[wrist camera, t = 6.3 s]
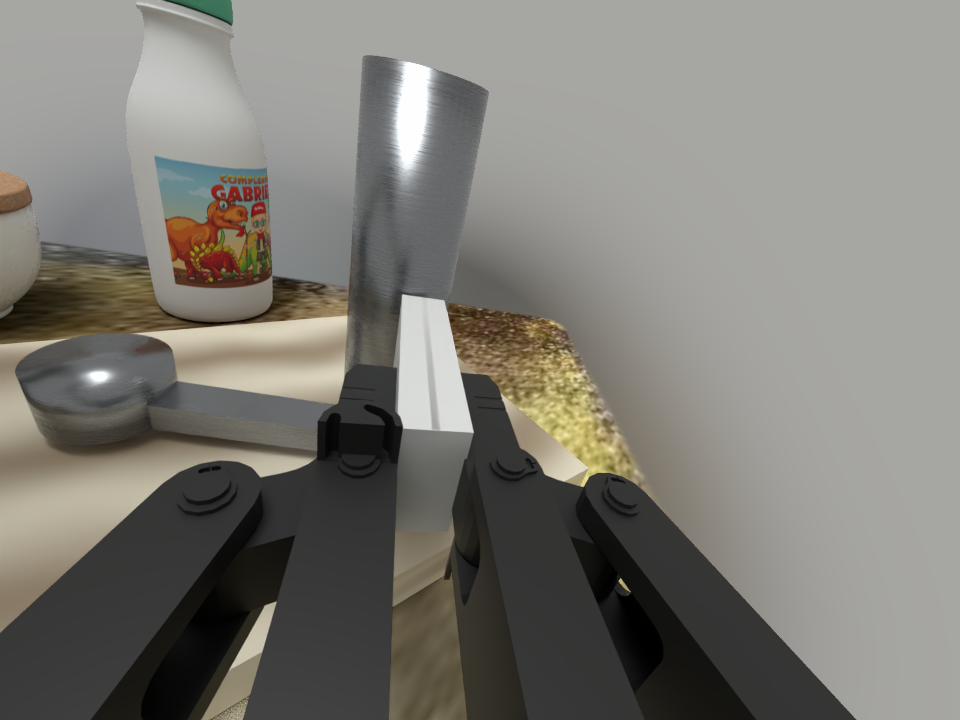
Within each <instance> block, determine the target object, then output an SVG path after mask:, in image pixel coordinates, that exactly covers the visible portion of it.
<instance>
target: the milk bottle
mask: <svg viewBox="0 0 960 720" xmlns="http://www.w3.org/2000/svg"><path fill="white" fill-rule="evenodd" d="M136 6H137V8H138V9H140V11H141V12H142V15H143V19H144V27H145V34H144V44H143V51H142V56H141V60H140V64H139V67H138V70H137V73H136V76H135V79H134V81H133V84H132V87H131V90H130V93H129V96H128V101H127V107H126V118H125V120H126V137H127V144H128V151H129V157H130V165H131V171H132V176H133V182H134V187H135V193H136V199H137V204H138V210H139V215H140V220H141V226H142V230H143V236H144V242H145V247H146V252H147V257H148V262H149V268H150V273H151V278H152V283H153V288H154V292H155V296H156V300H157V302H158V304H159V305H160V306H161V308H162V309H163V310H164V311H166V312H167V313H169V314H171V315H174V316H176V317H180V318H183V319H188V320H194V321H203V322H230V321H238V320H244V319H248V318H252V317H255V316H258V315H260V314H262V313H264V312H265V311H266V310H268V309H269V307H270V305H271V303H272V300H273V287H272V260H271V237H270V216H269V215H270V214H269V196H268V195H269V194H268V178H267V167H266V157H265V151H264V145H263V141H262V137H261V133H260V130H259V127H258V125H257V122H256V120H255V117H254V115H253V113H252V111H251V108H250V106H249V104H248V102H247V100H246V97H245V95H244V93H243V90H242V88H241V85H240V83H239V80H238V77H237V74H236V71H235V67H234V64H233V60H232V56H231V51H230V39H231V38H233V37H234V35H233V33H232V27H231V26H232V23H233V16H232V15H233V12H232V3H231V0H137V4H136Z"/></svg>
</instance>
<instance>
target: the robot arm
mask: <svg viewBox="0 0 960 720" xmlns="http://www.w3.org/2000/svg"><path fill="white" fill-rule="evenodd" d="M452 517H453V526H454V534H455V535H454V539H453V542H452V546H451V550H450V553H449V557H448V561H447V564H446V568H445V576H444V580H447V579H450V575H451V572H452V577H453V586H454V596H455V605H456V615H457V624H458V634H459V643H460V653H461V663H462V672H463V682H464V691H465V701H466V710H467V720H856V719H855V718H854V717H853V716H852V715H851V713H850V712H849V711H848V710H847V709H846V708H845V707H844V706H843V705H842V704H841V703H840V702H839V701H838V699H837V698H835V696H834V695H833V694H832V693H831V692H830V691H829V690H828V689H827V688H826V687H825V686H824V684H823V683H822V682H821V681H820V680H819V679H818V678H817V677H816V676H815V675H814V674H813V673H812V672H811V670H810V669H809V668H808V667H807V666H806V665H805V664H804V663H803V662H802V661H801V660H800V659H799V657H797V655H796V654H795V653H794V652H793V651H792V650H791V649H790V648H789V647H788V646H787V645H786V643H785V642H784V641H783V640H782V639H781V638H780V637H779V636H778V635H777V634H776V633H775V632H774V631H773V630H772V628H771V627H770V626H769V625H768V624H767V623H766V622H765V621H764V620H763V619H762V618H761V617H760V616H759V614H758V613H757V612H756V611H755V610H754V609H753V608H752V607H751V606H750V605H749V604H748V603H747V602H746V600H745V599H744V598H743V597H742V596H741V595H740V594H739V593H738V592H737V591H736V590H735V589H734V588H733V586H732V585H731V584H730V583H729V582H728V581H727V580H726V579H725V578H724V577H723V576H722V575H721V574H720V572H719V571H718V570H717V569H716V568H715V567H714V566H713V565H712V564H711V563H710V562H709V561H708V560H707V558H706V557H705V556H704V555H703V554H702V553H701V552H700V551H699V550H698V549H697V548H696V547H695V546H694V544H693V543H692V542H691V541H690V540H689V539H688V538H687V537H686V536H685V535H684V534H683V533H682V532H681V531H680V530H679V528H678V527H677V526H676V525H675V524H674V523H673V522H672V521H671V520H670V519H669V518H668V516H667V515H666V514H665V513H664V512H663V511H662V510H661V509H660V508H659V507H658V506H657V505H656V504H655V502H654V501H653V500H652V499H651V498H650V497H649V496H648V495H647V494H646V493H645V492H644V491H643V490H642V489H640V488H639V487H638V486H637V485H636V484H634V483H633V482H631V481H629V480H627V479H625V478H624V477H621V476H618V475H615V474H611V473H597V474H595V475H592V476H590V477H589V479H588V480H587V482H586V484H585V486H584V487H581V486H577V485H574V484H571V483H567V482H564V481H560V480H557V479H555V478H552V477H549V476H547V475H545V474H544V472H543V469H542V467H541V466H540V464H539V463H538V461H537V460H536V459H535V458H534V457H533V456H532V455H531V454H529V453H528V452H527V451H525V450H523V449H521V448H520V446H519V444H518V441H517V438H516V435H515V432H514V430H513V427H512V424H511V421H510V418H509V416H508V413H507V411H506V407H505V404H504V402H503V401H502V396H501V393H500V391H499V388H498V386H497V385H496V384H495V383H494V382H493V381H492V380H491V379H490V378H489V377H488V376H487V375H481V374H471V373H461V372H460V369H459V364H458V360H457V355H456V350H455V346H454V341H453V337H452V332H451V328H450V323H449V319H448V314H447V310H446V305H445V301H444V300H438V299H431V298H424V297H417V296H410V295H403V294H402V300H401V308H400V316H399V324H398V332H397V341H396V349H395V357H394V365H393V367H385V366H375V365H365V364H356V365H355V366H354V367H353V368H352V369H351V370H349V371H348V372H347V373H346V374H345V378H344V382H343V386H342V389H341V393H340V397H339V401H338V404H335V405H334V406H332V407H330V408H329V409H327V410H326V411H324V412H323V414H322V415H321V417H320V418H319V420H318V426H317V458H316V459H314V460H313V461H312V462H310V463H309V464H307V465H305V466H302V467H300V468H298V469H295V470H292V471H288V472H285V473H280V474H275V475H270V476H265V477H260V476H259V475H258V474H257V473H256V471H255V470H254V469H253V468H252V467H250V466H248V465H245V464H243V463H240V462H237V461H222V460H219V461H213V462H207V463H201V464H198V465H195V466H193V467H190V468H188V469H185V470H183V471H180V472H178V473H177V474H176V475H174V476H173V477H171V478H170V479H168V480H167V481H165V482H164V483H163V484H161V485H160V486H159V487H158V488H157V489H156V490H155V491H154V492H153V493H152V494H151V495H149V496H148V497H147V498H146V499H145V500H144V501H143V502H142V503H141V504H140V505H139V506H137V507H136V508H135V509H134V510H133V511H132V512H131V513H130V514H129V515H128V516H127V517H125V518H124V519H123V520H122V521H121V522H120V523H119V524H118V525H117V526H116V527H115V528H114V529H112V530H111V531H110V532H109V533H108V534H107V535H106V536H105V537H104V538H103V539H102V540H100V541H99V542H98V543H97V544H96V545H95V546H94V547H93V548H92V549H91V550H90V551H88V552H87V553H86V554H85V555H84V556H83V557H82V558H81V559H80V560H79V561H78V562H76V563H75V564H74V565H73V566H72V567H71V568H70V569H69V570H68V571H67V572H66V573H65V574H63V575H62V576H61V577H60V578H59V579H58V580H57V581H56V582H55V583H54V584H53V585H51V586H50V587H49V588H48V589H47V590H46V591H45V592H44V593H43V594H42V595H41V596H39V597H38V598H37V599H36V600H35V601H34V602H33V603H32V604H31V605H30V606H29V607H27V608H26V609H25V610H24V611H23V612H22V613H21V614H20V615H19V616H18V617H17V618H16V619H14V620H13V621H12V622H11V623H10V624H9V625H8V626H7V627H6V628H5V629H4V630H2V631H1V632H0V720H201V719H202V718H203V716H204V714H205V712H206V711H207V709H208V707H209V705H210V703H211V702H212V700H213V698H214V696H215V694H216V693H217V691H218V689H219V687H220V686H221V684H222V682H223V680H224V678H225V677H226V675H227V673H228V671H229V669H230V668H231V666H232V664H233V662H234V660H235V659H236V657H237V655H238V653H239V652H240V650H241V648H242V646H243V644H244V643H245V641H246V639H247V637H248V635H249V634H250V632H251V630H252V628H253V626H254V625H255V623H256V621H257V619H258V618H259V616H260V614H261V612H262V610H263V609H264V606H265V605H268V604H271V603H274V602H276V606H275V609H274V613H273V616H272V620H271V623H270V627H269V630H268V634H267V637H266V641H265V644H264V648H263V651H262V655H261V658H260V662H259V665H258V669H257V672H256V676H255V679H254V683H253V686H252V690H251V693H250V697H249V700H248V704H247V707H246V711H245V714H244V718H243V720H389V693H390V665H391V637H392V609H393V581H394V553H395V532H420V531H448V530H449V526H450V522H451V518H452ZM620 578H621V579H622V580H623V582H624V583H625V584H626V586H627V587H628V589H629V590H630V591H631V592H629V591H627V590H626V589H624V587H623V586H622V585H621V584H620V583H619V579H620Z"/></svg>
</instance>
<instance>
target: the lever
mask: <svg viewBox="0 0 960 720" xmlns="http://www.w3.org/2000/svg"><path fill="white" fill-rule="evenodd" d="M488 95H489V92H488V91H487V90H486V89H484V88H482V87H481V86H478V85H477V84H474V83H472V82H470V81H467V80H464V79H462V78H459V77H457V76H453V75H451V74H448V73H445V72H442V71H438V70H435V69H432V68H428V67H425V66H421V65H417V64H414V63H409V62H405V61H401V60H397V59H392V58H386V57H380V56H363V59H362V76H361V94H360V110H359V111H360V112H359V127H358V144H357V161H356V179H355V196H354V213H353V214H354V215H353V231H352V247H351V265H350V281H349V298H348V316H347V333H346V350H345V367H344V378H345V374H346V373H347V372H348V371H349V370H351V369H352V368H353V367H354V366H355V365H356V364H365V365H375V366H385V367H393V365H394V357H395V349H396V341H397V332H398V324H399V316H400V308H401V300H402V294H403V295H410V296H417V297H424V298H431V299H438V300H444V301H445V305H446V310H447V311H448V306H449V301H450V295H451V290H452V285H453V279H454V274H455V269H456V264H457V259H458V253H459V248H460V243H461V238H462V232H463V227H464V221H465V216H466V211H467V206H468V201H469V195H470V190H471V185H472V180H473V174H474V169H475V164H476V159H477V153H478V148H479V143H480V138H481V132H482V127H483V122H484V116H485V111H486V106H487V101H488ZM15 374H16V377H17V379H18V382H19V384H20V386H21V389H22V391H23V394H24V396H25V399H26V401H27V403H28V406H29V408H30V411H31V413H32V415H33V418H34V420H35V423H36V425H37V427H38V430H39V432H40V433H41V434H42V435H43V436H45V437H46V438H48V439H50V440H52V441H55V442H59V443H64V444H71V445H96V444H105V443H111V442H116V441H121V440H125V439H129V438H132V437H135V436H138V435H141V434H143V433H146V432H148V431H150V430H161V431H168V432H176V433H184V434H191V435H199V436H206V437H214V438H222V439H229V440H237V441H244V442H252V443H260V444H267V445H275V446H283V447H290V448H298V449H305V450H313V451H317V426H318V420H319V418H320V417H321V415H322V414H323V412H324V411H326V410H327V409H329V408H330V407H332V406H334V405H335V404H329V403H322V402H315V401H308V400H302V399H295V398H288V397H281V396H275V395H268V394H261V393H254V392H248V391H241V390H234V389H228V388H221V387H214V386H207V385H201V384H194V383H187V382H180V381H178V377H177V372H176V366H175V361H174V355H173V351H172V349H171V347H170V346H169V345H168V344H167V343H165V342H163V341H161V340H159V339H157V338H153V337H150V336H145V335H138V334H128V333H108V334H95V335H87V336H81V337H76V338H71V339H67V340H62V341H59V342H56V343H52V344H50V345H47V346H44V347H42V348H40V349H37V350H35V351H34V352H32V353H30V354H28V355H27V356H25V357H24V358H23V359H22V360H21V361H20V362H19V363H18V364H17V366H16V369H15Z"/></svg>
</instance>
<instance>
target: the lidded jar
mask: <svg viewBox="0 0 960 720" xmlns="http://www.w3.org/2000/svg"><path fill="white" fill-rule="evenodd" d="M31 202H32V196H31V193H30V189H29V186H28V185H27V183H26V182H24V181H23V180H22V179H20V178H19V177H17V176H14V175H11V174H8V173H5V172H2V171H0V319H1V318H3V317H5V316H7V315H8V314H9V313H11V311H12V310H13V307H14V306H13V304H14V303H15V302H17V301H18V300H19V299H20V298H22V297H23V296H24V295H25V294H26V292H27V291H28V290H29V289H30V288H31V287H32V285H33V283H34V282H35V280H36V278H37V276H38V272H39V268H40V264H41V242H40V234H39V230H38V226H37V222H36V218H35V215H34V212H33V209H32V205H31Z"/></svg>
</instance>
